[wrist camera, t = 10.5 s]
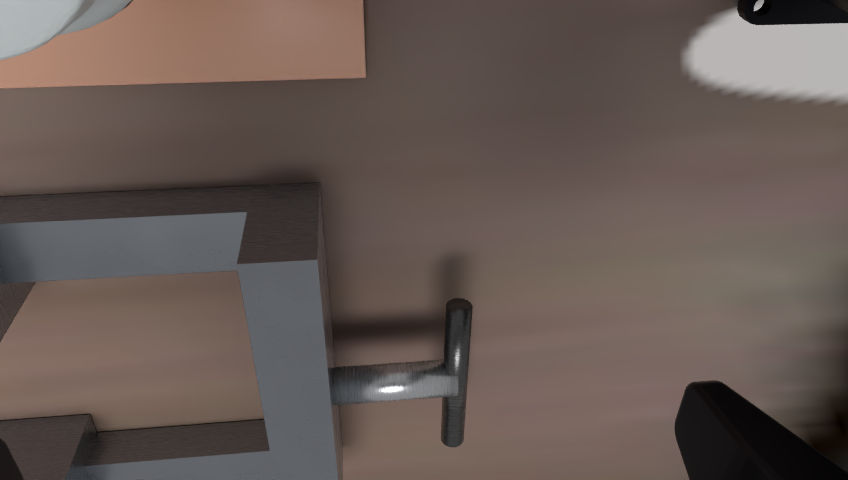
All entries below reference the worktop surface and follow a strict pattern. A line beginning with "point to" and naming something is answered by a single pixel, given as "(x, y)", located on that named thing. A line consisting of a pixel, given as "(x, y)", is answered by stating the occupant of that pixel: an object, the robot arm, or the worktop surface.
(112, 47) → the tile
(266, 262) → the vise
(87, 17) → the pill bottle
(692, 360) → the worktop surface
